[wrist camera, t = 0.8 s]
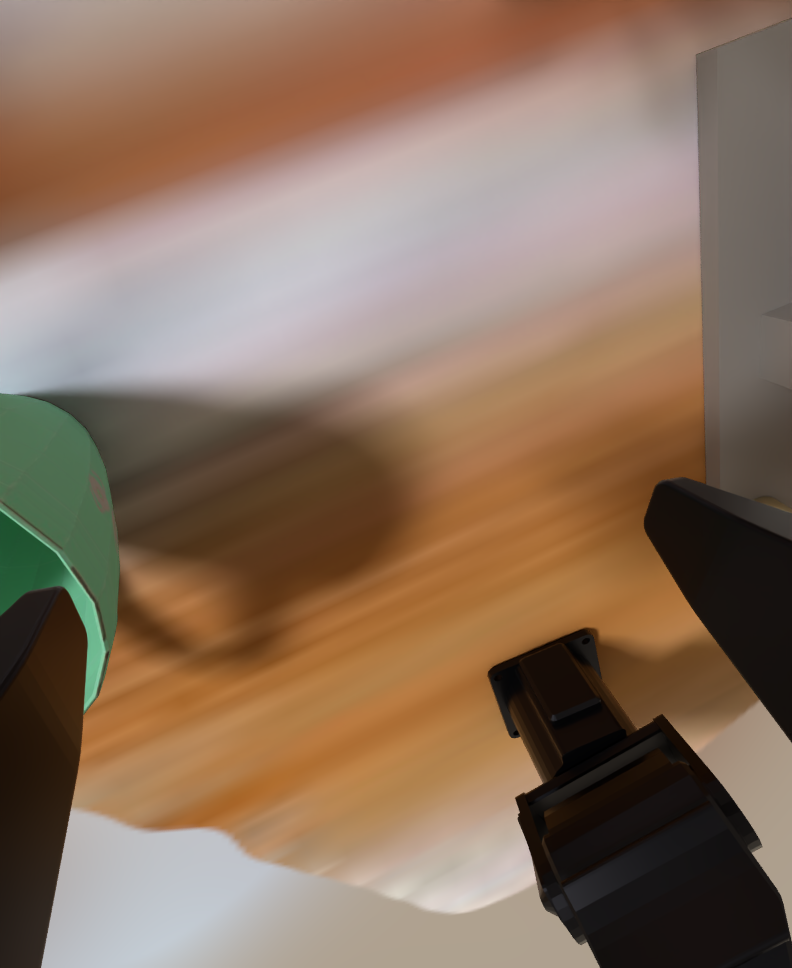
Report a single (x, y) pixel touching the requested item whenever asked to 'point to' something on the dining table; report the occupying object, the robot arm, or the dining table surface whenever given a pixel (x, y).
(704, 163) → the stand
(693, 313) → the dining table surface
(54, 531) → the mug
